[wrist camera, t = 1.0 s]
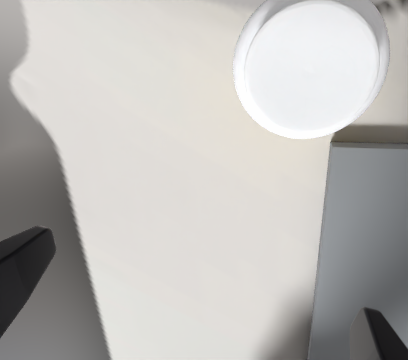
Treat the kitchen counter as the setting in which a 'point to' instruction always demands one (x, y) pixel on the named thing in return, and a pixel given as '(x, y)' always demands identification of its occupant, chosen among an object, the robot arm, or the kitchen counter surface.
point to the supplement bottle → (310, 64)
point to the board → (361, 244)
